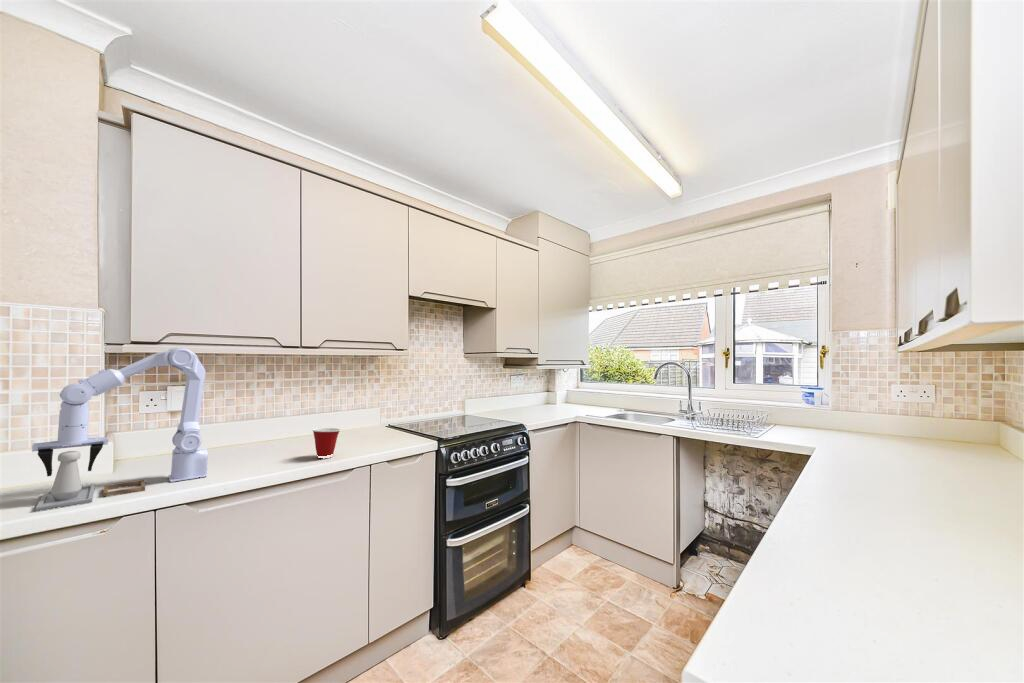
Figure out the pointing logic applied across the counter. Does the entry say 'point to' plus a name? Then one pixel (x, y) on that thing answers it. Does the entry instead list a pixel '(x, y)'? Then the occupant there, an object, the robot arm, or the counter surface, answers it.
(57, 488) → the salt shaker
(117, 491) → the walnut collar
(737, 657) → the counter surface
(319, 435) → the plastic cup
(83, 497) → the grey tray
